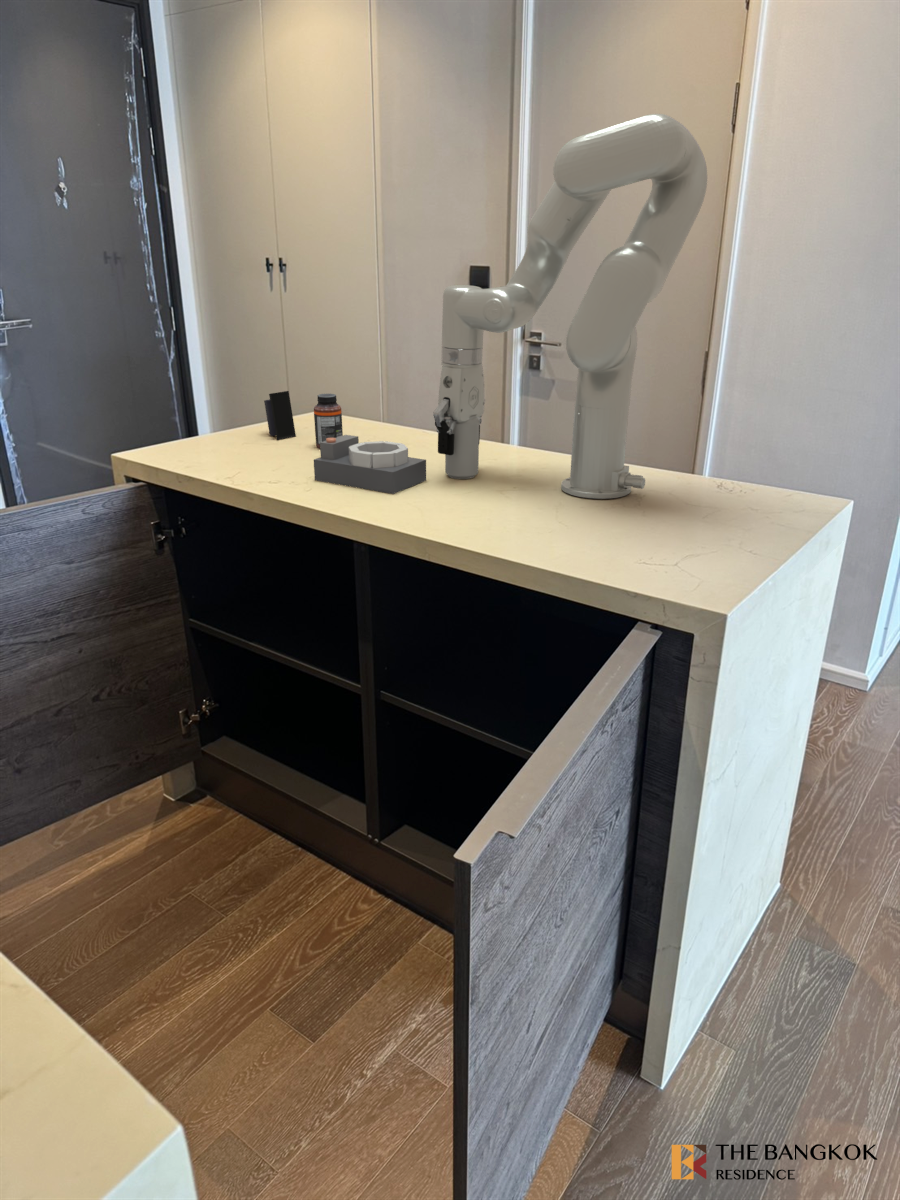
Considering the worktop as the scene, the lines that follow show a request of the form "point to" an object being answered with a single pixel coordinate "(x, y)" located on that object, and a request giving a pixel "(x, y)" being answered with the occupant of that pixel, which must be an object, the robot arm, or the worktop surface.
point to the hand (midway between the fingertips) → (458, 449)
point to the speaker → (280, 415)
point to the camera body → (368, 465)
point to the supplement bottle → (327, 418)
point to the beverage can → (464, 450)
